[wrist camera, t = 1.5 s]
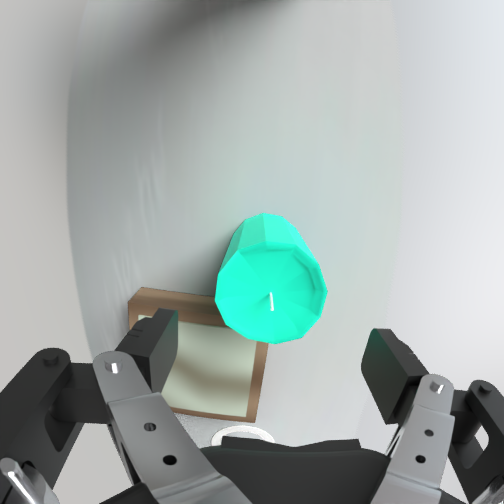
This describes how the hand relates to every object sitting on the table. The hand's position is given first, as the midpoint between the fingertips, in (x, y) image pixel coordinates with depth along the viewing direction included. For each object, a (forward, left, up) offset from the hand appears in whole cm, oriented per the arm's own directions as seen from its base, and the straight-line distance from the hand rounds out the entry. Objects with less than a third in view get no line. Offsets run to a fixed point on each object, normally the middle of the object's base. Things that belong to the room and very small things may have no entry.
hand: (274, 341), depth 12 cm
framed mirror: (+11, -5, -15) cm, 19 cm away
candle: (0, 0, -15) cm, 15 cm away
